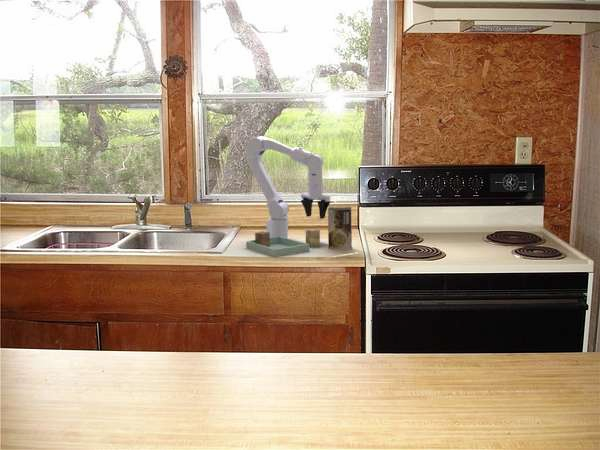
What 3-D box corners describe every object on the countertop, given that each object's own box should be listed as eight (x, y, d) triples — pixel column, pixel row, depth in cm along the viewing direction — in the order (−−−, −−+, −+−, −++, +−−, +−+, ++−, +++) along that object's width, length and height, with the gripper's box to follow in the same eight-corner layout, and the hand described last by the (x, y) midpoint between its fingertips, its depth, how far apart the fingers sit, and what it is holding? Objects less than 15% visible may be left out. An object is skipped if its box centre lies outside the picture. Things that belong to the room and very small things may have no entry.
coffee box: (351, 247, 254) (351, 206, 252) (351, 250, 248) (351, 209, 245) (328, 247, 255) (328, 206, 252) (327, 250, 249) (327, 209, 246)
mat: (296, 245, 258) (296, 244, 258) (316, 242, 264) (316, 241, 264) (311, 249, 250) (311, 248, 250) (331, 246, 256) (331, 245, 256)
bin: (246, 249, 253) (246, 241, 252) (280, 243, 262) (280, 236, 261) (274, 258, 237) (274, 249, 236) (309, 252, 246) (309, 244, 245)
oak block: (305, 244, 257) (305, 229, 256) (313, 243, 259) (313, 228, 258) (311, 246, 254) (311, 231, 253) (319, 245, 256) (319, 229, 255)
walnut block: (255, 247, 252) (255, 232, 251) (262, 246, 255) (262, 231, 254) (262, 249, 250) (262, 233, 249) (269, 247, 253) (269, 232, 252)
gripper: (295, 184, 266) (296, 216, 268) (321, 186, 256) (321, 220, 258) (307, 182, 270) (307, 214, 273) (333, 185, 260) (333, 218, 263)
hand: (315, 217), depth 266 cm, fingers open, 7 cm apart
